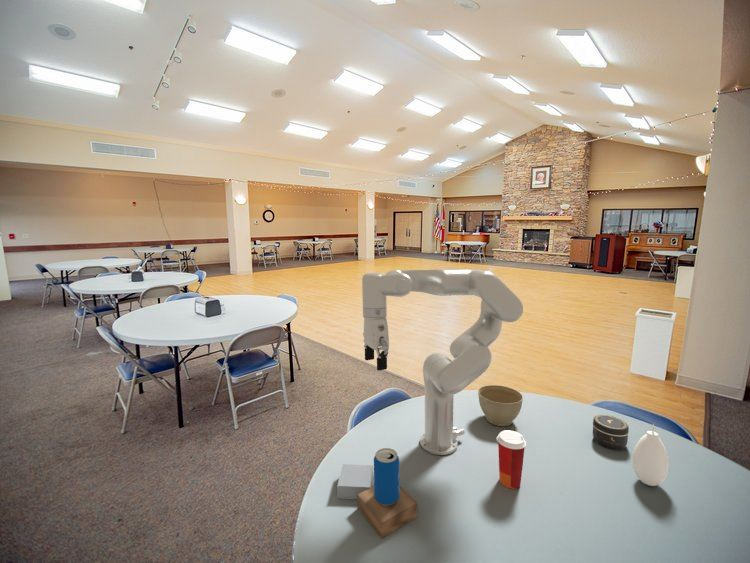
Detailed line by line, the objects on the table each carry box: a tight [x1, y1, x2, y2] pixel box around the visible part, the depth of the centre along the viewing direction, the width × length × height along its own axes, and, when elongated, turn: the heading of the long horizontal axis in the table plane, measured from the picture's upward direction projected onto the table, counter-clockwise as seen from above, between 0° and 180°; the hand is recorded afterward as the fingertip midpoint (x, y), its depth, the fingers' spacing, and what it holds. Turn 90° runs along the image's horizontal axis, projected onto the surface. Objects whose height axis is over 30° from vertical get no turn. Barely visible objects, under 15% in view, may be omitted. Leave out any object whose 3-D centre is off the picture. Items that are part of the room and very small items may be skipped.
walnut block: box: [356, 485, 418, 539], centre depth 88 cm, size 11×11×4 cm
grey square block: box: [336, 463, 374, 500], centre depth 97 cm, size 9×9×4 cm
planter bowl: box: [477, 384, 524, 427], centre depth 131 cm, size 16×16×11 cm
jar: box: [592, 414, 630, 451], centre depth 116 cm, size 10×10×8 cm
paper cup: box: [496, 429, 527, 490], centre depth 97 cm, size 8×8×14 cm
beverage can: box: [373, 447, 400, 505], centre depth 87 cm, size 6×6×12 cm
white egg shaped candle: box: [631, 423, 670, 487], centre depth 96 cm, size 8×8×18 cm
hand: (375, 364), depth 109 cm, fingers open, 9 cm apart
